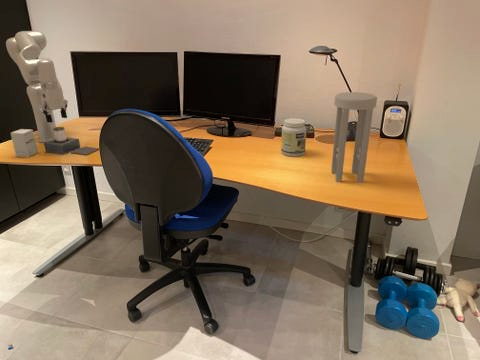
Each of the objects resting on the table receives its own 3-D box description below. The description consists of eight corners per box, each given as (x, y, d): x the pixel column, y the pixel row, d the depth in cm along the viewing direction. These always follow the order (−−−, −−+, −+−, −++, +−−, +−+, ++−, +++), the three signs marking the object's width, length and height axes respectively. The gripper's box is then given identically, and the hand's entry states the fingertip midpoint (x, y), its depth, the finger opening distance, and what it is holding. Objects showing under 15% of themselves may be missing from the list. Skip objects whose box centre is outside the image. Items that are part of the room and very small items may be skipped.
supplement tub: (297, 159, 183) (299, 125, 176) (276, 154, 189) (277, 121, 183) (309, 152, 192) (311, 119, 185) (288, 147, 198) (290, 116, 192)
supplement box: (28, 157, 188) (22, 133, 183) (16, 156, 190) (9, 132, 185) (38, 152, 195) (33, 129, 190) (26, 151, 196) (20, 128, 191)
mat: (71, 153, 194) (70, 152, 193) (84, 147, 202) (84, 146, 202) (86, 155, 190) (86, 154, 190) (99, 149, 199) (99, 148, 199)
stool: (360, 170, 169) (370, 91, 155) (369, 184, 155) (381, 99, 141) (325, 169, 170) (332, 91, 155) (332, 183, 155) (340, 99, 141)
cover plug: (55, 150, 197) (51, 128, 193) (63, 147, 202) (58, 126, 197) (63, 152, 196) (58, 129, 191) (70, 149, 200) (66, 127, 195)
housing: (45, 152, 196) (43, 143, 194) (63, 145, 206) (61, 136, 204) (63, 154, 192) (61, 145, 190) (80, 147, 202) (78, 138, 200)
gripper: (41, 89, 176) (49, 124, 183) (68, 83, 191) (75, 116, 198) (29, 88, 179) (38, 123, 186) (57, 83, 194) (64, 115, 200)
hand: (57, 120), depth 192 cm, fingers open, 9 cm apart
